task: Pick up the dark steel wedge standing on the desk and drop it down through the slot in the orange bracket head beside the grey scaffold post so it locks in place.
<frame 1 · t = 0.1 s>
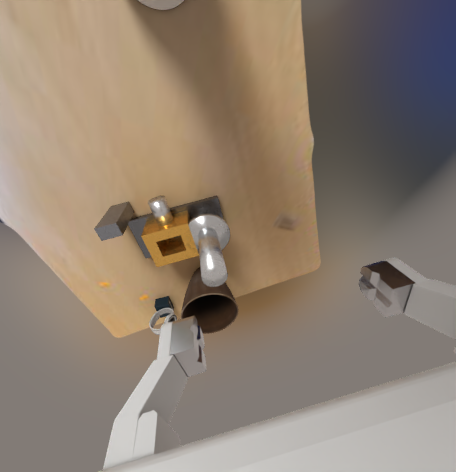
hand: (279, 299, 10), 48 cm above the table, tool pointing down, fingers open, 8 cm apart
scaffold node: (173, 228, 60), on the table
plant pot: (205, 274, 71), on the table
watch: (165, 302, 74), on the table
wedge: (122, 209, 55), on the table
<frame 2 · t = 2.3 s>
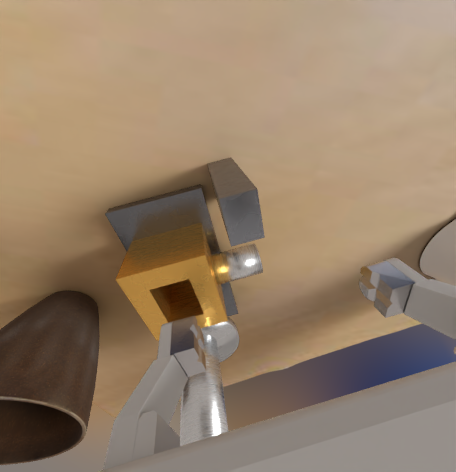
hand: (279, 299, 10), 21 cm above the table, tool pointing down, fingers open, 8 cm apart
scaffold node: (180, 257, 33), on the table
plant pot: (73, 307, 35), on the table
wedge: (223, 178, 28), on the table
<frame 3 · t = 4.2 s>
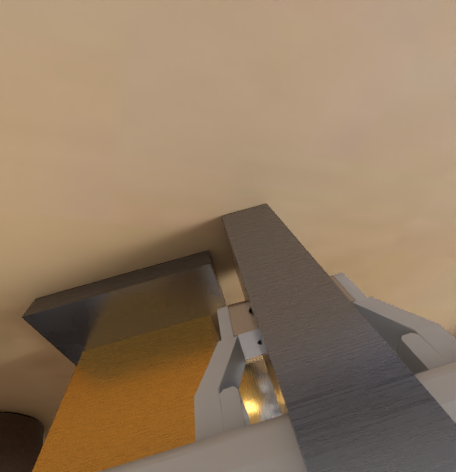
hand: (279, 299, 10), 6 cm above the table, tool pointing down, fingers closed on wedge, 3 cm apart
scaffold node: (173, 353, 20), on the table
plant pot: (2, 427, 22), on the table
wedge: (249, 238, 15), on the table, touching gripper
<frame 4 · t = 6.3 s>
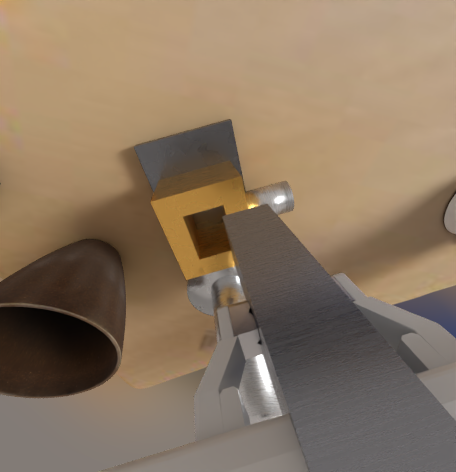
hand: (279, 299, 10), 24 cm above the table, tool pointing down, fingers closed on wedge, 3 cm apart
scaffold node: (205, 204, 32), on the table
plant pot: (96, 258, 34), on the table
wedge: (250, 238, 15), point 18 cm above the table, touching gripper
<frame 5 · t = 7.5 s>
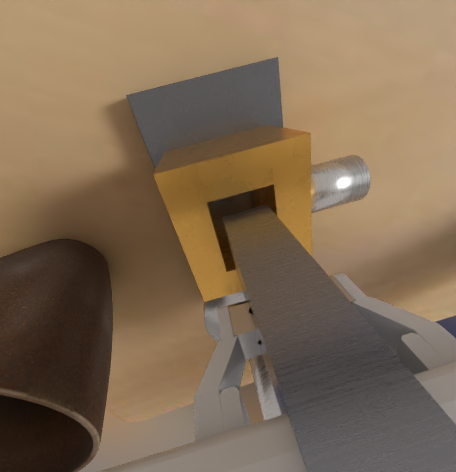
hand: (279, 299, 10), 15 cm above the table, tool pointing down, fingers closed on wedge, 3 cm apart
scaffold node: (227, 191, 23), on the table
plant pot: (74, 266, 25), on the table
wedge: (250, 239, 15), point 10 cm above the table, touching gripper
when the fingers open (12 cm above the table, at t = 8.5 s): wedge drops 4 cm, resting on scaffold node.
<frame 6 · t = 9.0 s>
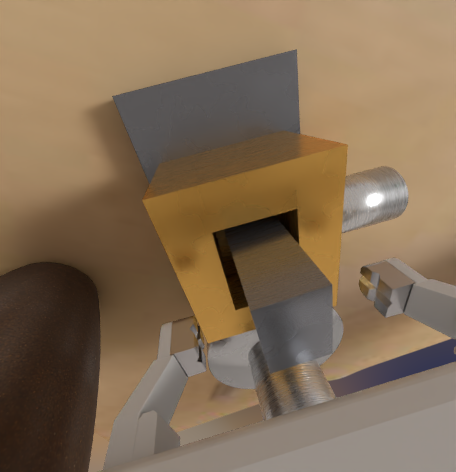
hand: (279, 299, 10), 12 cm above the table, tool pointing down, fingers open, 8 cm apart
scaffold node: (233, 206, 20), on the table
plant pot: (58, 291, 22), on the table
wedge: (236, 213, 19), point 1 cm above the table, touching scaffold node
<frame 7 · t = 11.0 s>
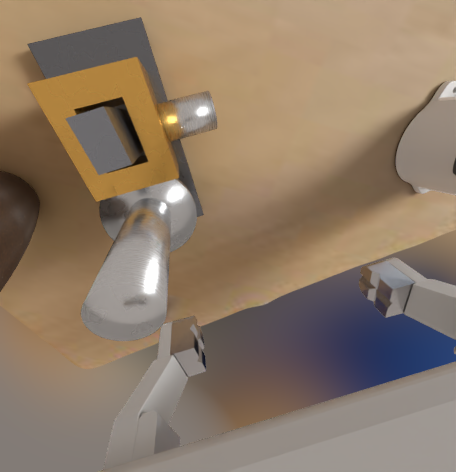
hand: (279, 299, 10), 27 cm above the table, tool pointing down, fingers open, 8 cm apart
scaffold node: (130, 131, 29), on the table
plant pot: (9, 198, 30), on the table
wedge: (128, 132, 28), point 1 cm above the table, touching scaffold node
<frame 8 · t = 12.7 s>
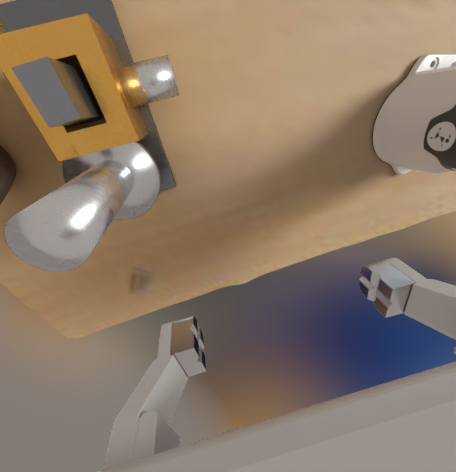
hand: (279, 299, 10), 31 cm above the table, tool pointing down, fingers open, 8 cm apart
scaffold node: (100, 99, 30), on the table
wedge: (96, 99, 29), point 1 cm above the table, touching scaffold node
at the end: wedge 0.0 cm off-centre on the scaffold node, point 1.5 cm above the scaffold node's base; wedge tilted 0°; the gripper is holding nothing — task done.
